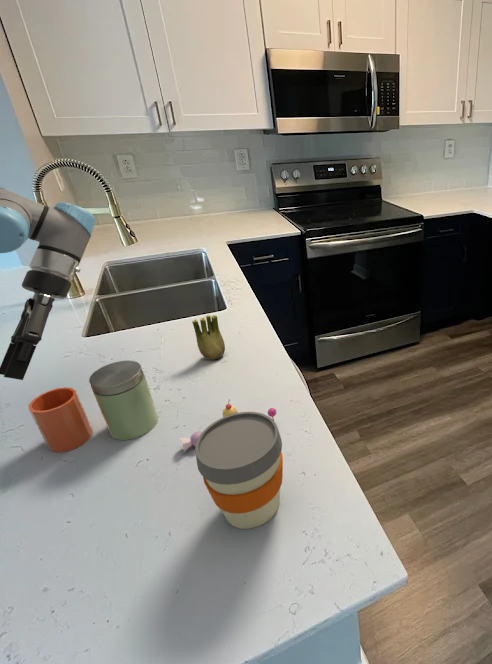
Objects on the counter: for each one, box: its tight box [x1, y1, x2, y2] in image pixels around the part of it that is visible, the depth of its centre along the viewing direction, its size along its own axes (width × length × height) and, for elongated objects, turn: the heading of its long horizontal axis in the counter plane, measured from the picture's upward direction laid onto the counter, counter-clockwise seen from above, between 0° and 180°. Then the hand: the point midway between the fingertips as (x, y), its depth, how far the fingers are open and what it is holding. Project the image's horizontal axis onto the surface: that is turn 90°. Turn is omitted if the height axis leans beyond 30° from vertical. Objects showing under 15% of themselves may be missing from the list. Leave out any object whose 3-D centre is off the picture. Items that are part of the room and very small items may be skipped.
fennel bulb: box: [191, 314, 226, 361], centre depth 108 cm, size 6×5×12 cm
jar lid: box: [88, 360, 145, 395], centre depth 82 cm, size 9×9×2 cm
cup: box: [28, 386, 94, 453], centre depth 82 cm, size 7×7×10 cm
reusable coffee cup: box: [194, 411, 284, 530], centre depth 67 cm, size 13×13×15 cm
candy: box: [180, 398, 277, 452], centre depth 84 cm, size 18×8×6 cm, turn 123°
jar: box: [92, 372, 159, 441], centre depth 85 cm, size 9×9×12 cm
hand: (9, 377), depth 81 cm, fingers open, 13 cm apart
